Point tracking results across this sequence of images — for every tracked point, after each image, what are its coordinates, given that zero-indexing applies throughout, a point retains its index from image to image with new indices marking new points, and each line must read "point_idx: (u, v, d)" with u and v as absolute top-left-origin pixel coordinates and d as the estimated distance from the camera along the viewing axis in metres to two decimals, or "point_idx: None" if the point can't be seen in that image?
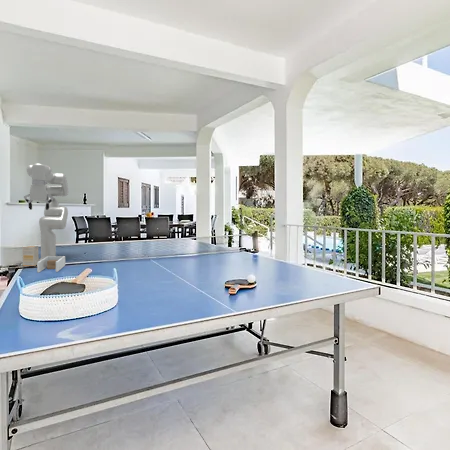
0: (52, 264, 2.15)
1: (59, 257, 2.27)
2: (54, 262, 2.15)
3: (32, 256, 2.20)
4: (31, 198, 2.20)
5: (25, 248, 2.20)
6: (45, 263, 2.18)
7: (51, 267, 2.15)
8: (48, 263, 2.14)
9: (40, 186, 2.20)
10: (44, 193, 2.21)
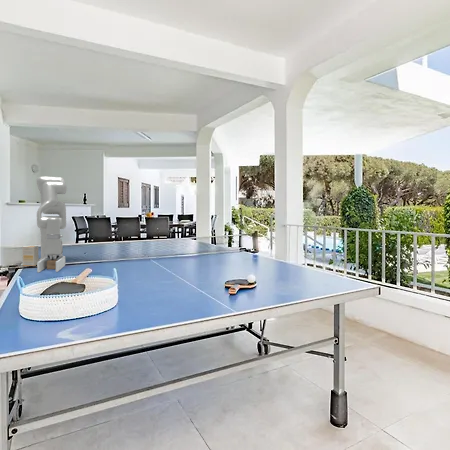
0: (52, 264, 2.14)
1: (59, 257, 2.27)
2: (54, 262, 2.14)
3: (32, 256, 2.20)
4: (46, 253, 2.17)
5: (25, 248, 2.20)
6: (45, 263, 2.18)
7: (51, 267, 2.14)
8: (48, 263, 2.13)
9: (55, 240, 2.17)
10: (59, 247, 2.18)
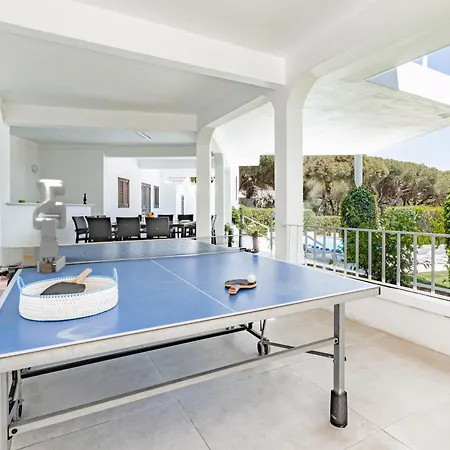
0: (47, 268, 2.02)
1: (59, 257, 2.27)
2: (49, 265, 2.02)
3: (32, 256, 2.20)
4: (41, 255, 2.05)
5: (25, 248, 2.20)
6: None
7: (46, 271, 2.02)
8: (43, 267, 2.01)
9: (50, 242, 2.05)
10: (55, 250, 2.07)
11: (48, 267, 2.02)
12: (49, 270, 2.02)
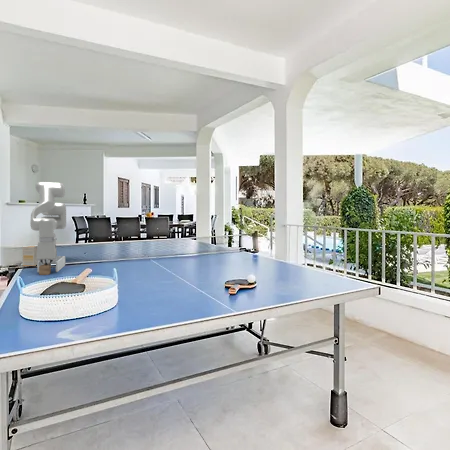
0: (44, 269, 1.97)
1: (59, 257, 2.27)
2: (47, 267, 1.97)
3: (32, 256, 2.20)
4: (38, 257, 2.00)
5: (25, 248, 2.20)
6: None
7: (43, 273, 1.97)
8: (40, 268, 1.96)
9: (48, 244, 2.00)
10: (53, 251, 2.01)
11: (46, 269, 1.97)
12: (47, 272, 1.97)
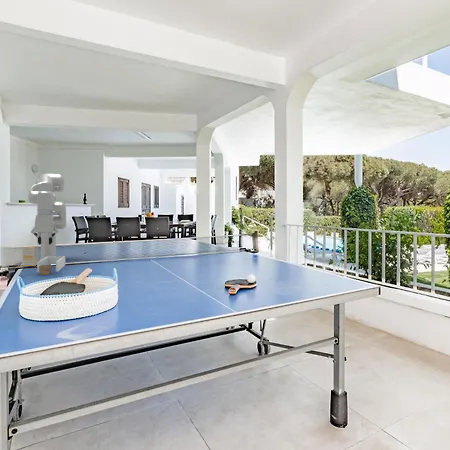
0: (44, 269, 1.97)
1: (59, 257, 2.27)
2: (47, 267, 1.97)
3: (32, 256, 2.20)
4: (36, 230, 1.95)
5: (25, 248, 2.20)
6: (45, 263, 2.18)
7: (43, 273, 1.97)
8: (40, 268, 1.96)
9: (46, 216, 1.96)
10: (51, 224, 1.97)
11: (46, 269, 1.97)
12: (47, 272, 1.97)
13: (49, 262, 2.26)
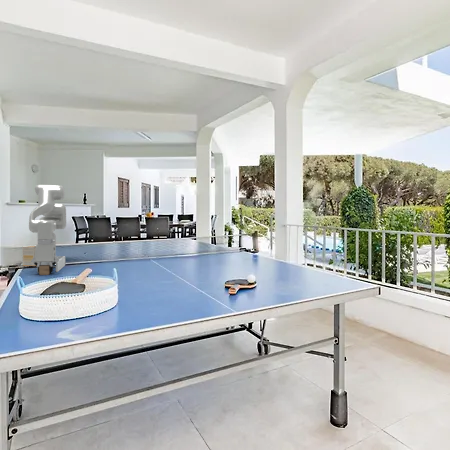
0: (45, 269, 1.97)
1: (59, 257, 2.27)
2: (47, 267, 1.97)
3: (32, 256, 2.20)
4: (37, 260, 1.96)
5: (25, 248, 2.20)
6: (45, 263, 2.18)
7: (43, 273, 1.97)
8: (40, 268, 1.96)
9: (47, 246, 1.97)
10: (51, 253, 1.98)
11: (46, 269, 1.97)
12: (47, 272, 1.97)
13: None
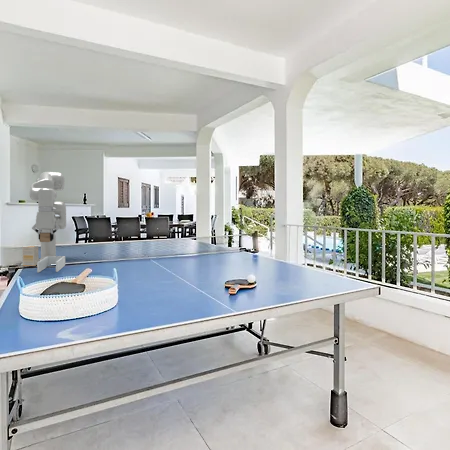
0: (45, 236, 1.98)
1: (59, 257, 2.27)
2: (47, 234, 1.99)
3: (32, 256, 2.20)
4: (37, 227, 1.98)
5: (25, 248, 2.20)
6: (45, 263, 2.18)
7: (44, 240, 1.98)
8: (41, 235, 1.98)
9: (47, 213, 1.98)
10: (52, 221, 1.99)
11: (46, 236, 1.99)
12: (47, 239, 1.99)
13: (49, 262, 2.26)
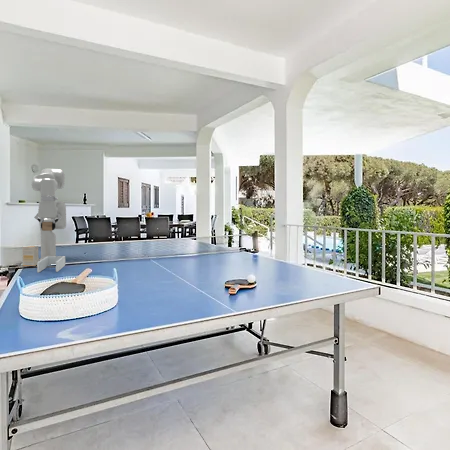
0: (47, 225, 2.03)
1: (59, 257, 2.27)
2: (50, 223, 2.03)
3: (32, 256, 2.20)
4: (40, 216, 2.03)
5: (25, 248, 2.20)
6: (45, 263, 2.18)
7: (46, 228, 2.03)
8: (43, 224, 2.02)
9: (49, 203, 2.03)
10: (54, 210, 2.04)
11: (48, 225, 2.03)
12: (49, 228, 2.03)
13: (49, 262, 2.26)
